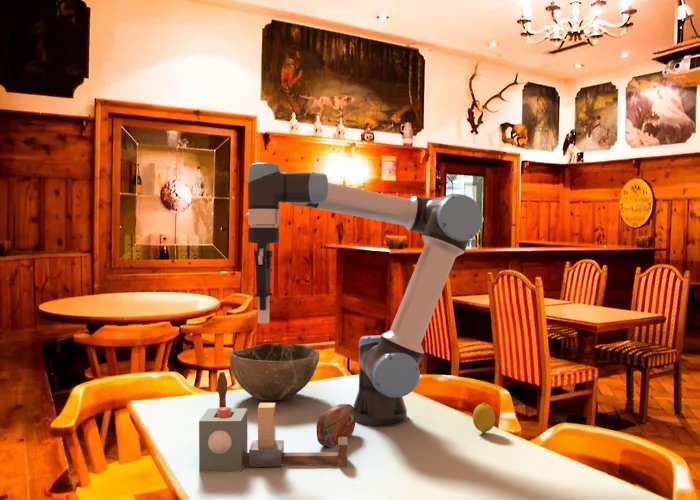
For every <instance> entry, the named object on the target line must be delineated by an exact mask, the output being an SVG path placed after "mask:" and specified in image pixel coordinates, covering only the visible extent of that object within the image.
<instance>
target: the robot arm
mask: <svg viewBox="0 0 700 500" xmlns="http://www.w3.org/2000/svg"><path fill="white" fill-rule="evenodd" d="M279 166H280V165H279V164H277V163H273V162H255V163H252V164H250V165H249V167H248V172H247V212H246V213H245V217H246V218H247V221H248V222H247V224H248V226H250V227H249V228H248V229H247V242H248V243H250V244H257V247H256V250H254V261H255V262H254V263H255V283H256V284H255V285H256V293H255V294H254V297H255V298H257V324H269V323H270V296H271V297H272V296H273V293H272V292H271V275H272V274H271V272H272V271H271V269H272V258H273V250H270V249H271V248H270V247H271V246H270V244H277V243H279V241H280V229H279V228H278V226H280V204H282V203H283V204H291V205H293V206H296V207H304V208H305V207H306V208H311V209H317V210H322V211H327V212H328V211H329V212H332V213H338V214H343V215H348V216H354V217H359V218H363V219H368V220H374V221H380V222H384V223H389V224H395V225H399V226H404V227H405V229H406V230H407V231H410V232H416V233H420V234H422V235H421V239H422V241H423V243H424V245H423V248H422V251H421V253H420V256H419V258H418V261H417V263H416V264H415V268H414V270H413V272H412V275H411V278H410V280H409V282H408V284H407V287H406V290H405V293H404V295H403V296H402V299H401V302H400V304H399V307H398V308H397V309H398V310H397V312H396V314H395V317H394V319H393V322H392V324H391V327H390V329H389V330H388V331H386V332H384V333H382V334H381V335H380V334H378V335H362V336H361V337H360V339H359V342H358V348H357V349H358V391H357V395H356V397H355V400H354V403H353V405H352V406H353V408H354V410H355V414H356V422H358V423H359V424H362V425H365V426H366V425H367V426H374V427H375V426H377V427H386V426H387V427H389V426H394V425H395V426H396V425H399V424H402V423H404V422H405V421H406V420H407V418H408V417H407V416H408V415H407V412H408V411H407V407H406V404H405V401H404V398H403V397H405V396H407V395H409V394H411V393H412V392H413V391H414V390H415V389H416V388H417V386H418V384H419V381H420V378H421V377H420V376H421V371H420V366H419V365H420V364H421V361H422V358H423V356H424V353H425V351H424V349H423V346H422V342H423V339H424V336H425V335H426V333H427V330H428V327H429V325H430V322H431V319H432V317H433V314H434V313H435V310H436V307H437V305H438V303H439V300H440V298H441V295H442V293H443V291H444V287H445V285H446V283H447V280H448V277H449V276H450V272H451V270H452V268H453V265H454V263H455V260H456V258H457V257H459V256H461V255H463V254H464V253H465V251H466V249H467V246H468V244H469V242H470V240H471V239H473V238H474V237H476V236H477V235H478V233H479V232H480V230H481V228H482V224H483V213H482V212H483V211H482V210H481V208H480V205H479V204H478V203H477V202H476V200H475V199H473V198H472V197H471V196H469V195H465V194H463V193H462V194H460V193H451V194H448V195H443V196H437V197H421V196H417V195H413V196H412V197H411V198H407V197H402V196H397V195H392V194H388V193H382V192H377V191H372V190H367V189H361V188H357V187H356V188H355V187H350V186H347V185H341V184H338V183H332V182H329V181H328V177H327V175H326V174H325V173H321V172H320V173H319V172H313V171H312V172H285V171H280V167H279Z"/></svg>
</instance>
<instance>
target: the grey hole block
mask: <svg viewBox="0 0 700 500" xmlns="http://www.w3.org/2000/svg"><path fill="white" fill-rule="evenodd" d="M217 409H218V408H207V410H206V411H205V413H203V415H202V416H201V418H200V419H199V420H198V454H199V455H198V471H199V472H205V473H207V472H219V473H220V472H242V471H243V468H244V466H245V465H244V454H245V453H248V408H247V407H246V408H245V407H244V408H240V407H239V408H233V407H232V408H231V417H217Z"/></svg>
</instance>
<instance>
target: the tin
mask: <svg viewBox="0 0 700 500" xmlns="http://www.w3.org/2000/svg"><path fill="white" fill-rule="evenodd" d="M353 406H354V405H352V404H349V403H339V404H337V405H335V406H333V407H332V408H330V409H327V410H326V411H324V412H322V413H321V414H320V415H319V417H318V419H317V421H316V439H317V442H318V443H319V444H320V445H321V446H324V447H329V448H334V447H336V446H338V437H347V439H349V438H350V437H351V436H352V435H353V433H354V431H355V427H356V422H357V421H356V414H355V410H354V408H353Z"/></svg>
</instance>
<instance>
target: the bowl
mask: <svg viewBox="0 0 700 500" xmlns="http://www.w3.org/2000/svg"><path fill="white" fill-rule="evenodd" d="M319 361H320V352H319V351H318V350H317V349H315V348H314V347H313V346H310V345H307V344H306V345H305V344H299V343H294V344H293V343H292V344H290V345H288V344H283V343H271V342H270V343H269V342H268V343H267V342H266V343H262V344H257V345H253V346H251V347H246V348H244V349H237V350H232V351H231V352H230V354H229V363H230V370H231V372H232V375H233V377H234V379H235V380H236V381H235V382H237V383H238V385H239V386H240V387H241V388H242V389H243V390H244V391H245V392H246V393H248V394H249V395H250V396H251V397H253V398H254V399H256V400H259V401H265V402H266V401H268V402H269V401H272V402H273V401H278V400H279V401H285V400H287V399H289V398H292V397H293V396H295V395H297V393H299V392H300V391H302V390H303V389H304V388H305V387H306V386H307V385H308V384H309V383H310V381H311V380H312V378H313V377H314V374H315V371H316V369H317V366H318V363H319Z"/></svg>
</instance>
